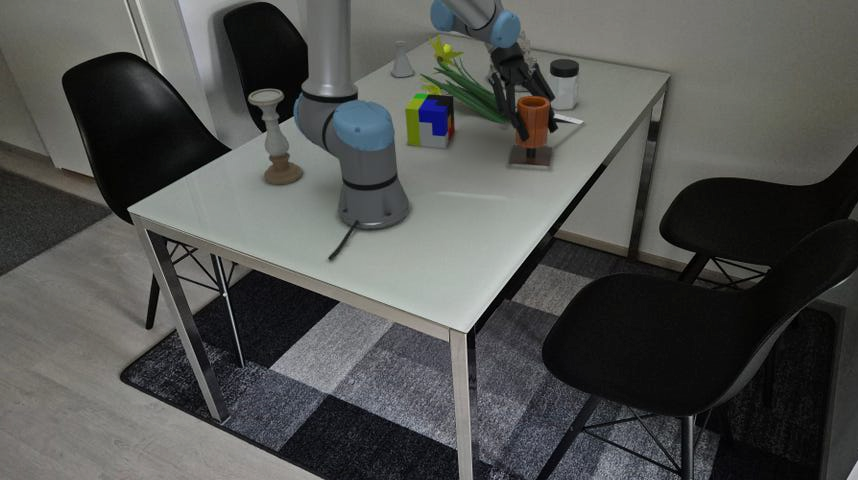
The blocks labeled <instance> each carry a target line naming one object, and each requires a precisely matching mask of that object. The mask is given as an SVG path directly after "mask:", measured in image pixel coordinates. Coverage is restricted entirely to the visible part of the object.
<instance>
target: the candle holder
mask: <svg viewBox="0 0 858 480" xmlns="http://www.w3.org/2000/svg"><path fill="white" fill-rule="evenodd" d="M284 99H285V95H284V92H283V91H282V90H280V89H276V88H263V89H257V90H255V91H253V92H251V93H249V95H248V97H247V100H248V102H249V104H251V105H253V106H257V107H258V108H259V109H261V111H262V116H261V120H262V121H264V123H265V128H266V137H265V140H264V149H265V151H266V152H267V154H269V155H268V160H269V161H270V162H271V163H272V164H271V165H270V166H269V167H268V168H267V169H266V170H265V171H264V173H263V178H264V180H265V181H266V182H267V183H269V184H271V185H277V186H279V185H288V184H291V183H294V182H296V181H298V180H299V179H300V178H301V177H302V175H303V170H302V168H301V166H299V165H298V164H295V162H292V161H289V160H290V157H291V154H290V153H289V152H288V151H289V149H290V143H289V141H288V139H287V138H286V136H285V135H284V134H283V132H282V130H281V127H280V125H279V120H278V119H280V115H279V113H278V112H277V110H276V108H277V106H278V104H279V103H280V102H282V101H284Z"/></svg>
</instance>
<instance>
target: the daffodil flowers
mask: <svg viewBox="0 0 858 480" xmlns="http://www.w3.org/2000/svg"><path fill="white" fill-rule="evenodd" d="M428 39H429V43H430V45H431V47H432V48H433V49H434V51H435V53H434V54H433V58H434V59H435V60H436V62H437V64H438V65H439V67H440V68H439V67H433V69H434V70H436V71H437V72H433V73H432V75H435V74H442V75H444V76H446V77H448V78H449V79H451V80H452V81H453V82H454V83H456V84H457V85H456V84H454V83H453V82H450V81H449V80H447V79H445V82H446V83H443V82H441V81H438V79H437V80H436V79H434V78H433V77H430V76H428V75H425V74H424V73H419V75H420V76H421V77H418V79H420V80H421V81H423V82H425V84H423V85H422V86H419V88H420V89H424V90H427V91H428V92H426V93H425V94H433V95H443V92H442V91H444V92H446V94H444V95H445V96H453V98H454V99H455V98H456V99H457V100H458V101H460V102H461V103H463V104H465V105H466V106H468V107H469V108H471V109H473V110H474V111H476V112H477V113H479V114H480V115H482V116H484V117H485V118H487V119H488V120H490V121H491V122H493V123H495V124H500V125H506V126H507V122H509V121H510V118H506V116H500V114H499V110H498V106H497V103H496V99H495V95H494V92H493V91H491V90H489V89H487V88H485V87H484V86H482V85H481V84H480V83H479V82H478V81H477V80H476V79H475V78H474V77H473V76H472V75H471V74H470V73H469V72H468V71H467V70H466V68H465V66H464V64H463V61H462V59H461V57H460V56H461V55H462V54H464V53H465V52H464V51H453V47H452V46H451V45H450V44H447V43H445V44H443V42H442V40H441V36H440V35H439V34H438V35H437V36H436V39H435V41H433V39H432V38H431V37H430V36H428ZM457 57H458V58H459V63H460V66H461V67H459V65H458V63H457V61H456V59H455V58H457ZM451 59H453V60H451ZM449 65H450V66H452V67H454V68H456V69H457V71H458V72H459V73H458V72H457V71H455V70H453V69H452V68H450V67H449ZM462 70H463V71H464V72H463V71H462ZM466 75H467V76H466ZM468 77H469V78H468ZM426 84H428V85H426ZM516 109H517V105H516ZM515 113H517V111H516V112H515Z"/></svg>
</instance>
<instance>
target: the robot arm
mask: <svg viewBox="0 0 858 480" xmlns="http://www.w3.org/2000/svg"><path fill="white" fill-rule="evenodd" d="M305 3H306V29H307V31H306V33H307V58H308V59H307V60H308V63H307V64H308V78H307V79H306V80H305V81H304V82H303V83H301V93H299V97H298V98H297V99H295V103H294V105H293V119H294V123H295V125H296V128H297V130H298V131H299V132H300V133H301V134H302V135H303V136H304V137H305V139H307V141H310V142H311V143H312V144H313V145H315V146H318V147H319V148H321V149H322V150H324V151H325V152H327V153H328V154H330V155H331V156H333V157H334V158H336V159H337V160H338V162H339V166H340V174H341V179H342V185H341V191H340V195H339V200H338V206H337V209H338V210H337V211H338V215H339V216H338V217H339V219H340V220H341V221H342V223H344V224H345V225H347V226H348V227H350V228H349V230H348V231H347V233H346V234H345V236H344V237H343V238H342V240H341V242H340V243H339V245H338V246H337V247H336V249H334V251H333V252H332V253H331V254H330V255H329V256H328V260H329V261H332V260H333V259H334V258H335V257H336V256H337V254H339V252H340V251H341V250H342V248H343V247H344V246H345V244H346V243H347V241H348V239H349V238H350V236H351V235H352V233H353V232H354V230H355V229H357V230H361V231H378V230H383V229H387V228H390V227H393V226H395V225H398V224H400V223H401V222H402V221H403V220H404V219H406V217H408V214H409V212H410V203H409V202H410V201H409V198H408V195H407V194H406V192H405V189H404V187H403V185H402V183H401V181H400V179H399V175H398V164H397V152H396V141H395V135H396V134H395V127H394V123H393V118H392V115H391V112H389V110H388V109H387V108H386V107H385V106H383V105H381V104H379V103H377V102H374V101H372V100H371V101H366V100H363V99H362V100H361V99H359V88H358V86H357V85H356V84H355V82H353V80H352V0H306V1H305ZM429 12H430V13H429V18H430V22H431V24H432V26H433V27H434V29H435V30H437V32H441V33H443V32H445V33H451V32H456V33H459V34H462V35H464V36H467V37H470V38H472V39H475V40H478V41H481V42H483V43H484V46H485V49H486V50H487V53H488V54H489V58H490V59H491V60H492V63H493V65H494V68H495V69H496V70H497V73H493V74H492V75H491V76H490V77H489V78H488V80H487V82H488V83H489V85H490V86H491V87H492V92H493V93H494V95H495V99H496V103H497V106H498V110H499V114H500V116H506V118H510V120H509V121H510V123H511V125H512V128H513V129H514V130H516V128H517V131H518V133H519V136H520V138H521V140H522V142H524V141H526V140H527V139H528V138H529V137H530V136H529V133H528V131H527V129H526V126H525V124H524V121H523V119H522V117H521V114H520V112H517V108H516V106H517V104H516V91H515V85H522V86H523V87H525V88H526V89H527V90H528V91H527V92H529V94H530V96H540V97H543V98H546V99H547V100H549V101H550V107H549V120H548V132H549V133H550V134H554V133H555V132H556V131H558V130H559V125H558V124H557V122H556V121H555V119H554V116H555V114H556V113H555V111H554V108H552V107H551V102H552V101H553V100H554V99H555V95H554V94H553V92H552V90H551V89H550V87H549V85H548V81H547V80H546V78H545V77H544V75H543V74H542V71H541V68H540V64H539V63H538V62H537V63H535V64H534V65H528V64H527V63H526V62H525V61H524V55H523V52H522V50H521V48H520V45H519V43H518V42H516V41H517V38H518V37H519V34H520V33H521V30H522V27H521V20H520V17H519V16H518V15H517V14H516V13H514V12H512V11H510V10H509V9H505V7H504V5H503V3H502V0H433V1H432V3H431V5H430V11H429ZM528 71H529V73H528ZM529 74H530V75H531V76H532V77H531V76H530V75H529ZM500 79H501V80H503V81H504V82H505V88H503V87H502V84H501V81H500ZM526 79H527V81H526ZM533 80H534V81H533ZM525 81H526V82H525ZM504 91H505V92H504ZM494 95H493V96H494ZM515 112H516V113H515Z"/></svg>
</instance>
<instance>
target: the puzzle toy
mask: <svg viewBox="0 0 858 480" xmlns="http://www.w3.org/2000/svg"><path fill="white" fill-rule="evenodd" d="M454 99H455V97H453V96H452V95H445V94H442V95H438V94H436V95H433V94H426V93H419V92H416V93H415V94H414V95H413V97H412V99H411V100H410V101H409V103H408V104H407V106H406V107H405V119H406V120H405V122H406V134H407V145H408V146H416V147H428V148H438V149H446V148H447V147H448V144H449V143H450V141H451V139H452V137H453V135H454V134H455V101H454Z"/></svg>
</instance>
